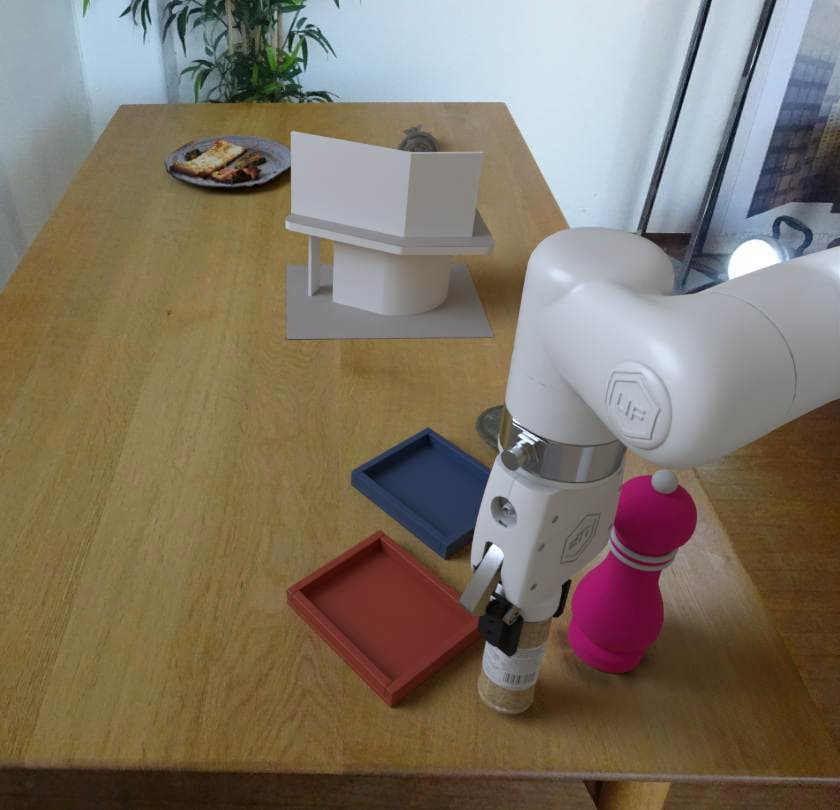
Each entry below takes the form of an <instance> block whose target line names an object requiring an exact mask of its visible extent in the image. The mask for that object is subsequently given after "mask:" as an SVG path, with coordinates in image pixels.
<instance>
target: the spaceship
mask: <svg viewBox="0 0 840 810" xmlns="http://www.w3.org/2000/svg"><path fill="white" fill-rule="evenodd" d="M421 128H422V123H421V124H417V125H416V126H411V127H410V128H408V129H405V130H403V131H402V133H403V134H404V135H406V136H404V137H403V138H402V140H401V141H400V143H398V147H397V150H402V151H408V152H441V149H440V144H439V142H438V141H437V140H438V139H436V137H434V135H433V133H432V131H428V132H426V131H421Z"/></svg>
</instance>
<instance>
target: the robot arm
mask: <svg viewBox="0 0 840 810" xmlns="http://www.w3.org/2000/svg"><path fill="white" fill-rule="evenodd" d="M523 283H524V284H523V288H522V294H521V301H520V306H519V312H518V313H519V314H518V319H517V325H516V331H515V339H514V343H513V348H512V354H511V359H510V367H509V373H508V379H507V383H506V384H507V385H506V390H505V396H504V399H503V405H504V406H503V412H502V418H501V424H500V430H499V436H498V448H499V450H498V452H499V453H498V454H497V455H496V457H495V459H494V462H493V466H492V468H491V470H492V471H491V473H490V476H489V479H488V482H487V485H486V489H485V492H484V495H483V499H482V502H481V506H480V510H479V514H478V518H477V522H476V527H475V532H474V537H473V541H472V542H471V551H470V569H471V571H472V574H473V576H472V577H471V578H470V581H469V582H468V584H467V586H466V587H465V589H464V591H463V593H462V594H461V595H460V596H461V598H460V599H459V602H458V604H459V605H460V606H461V607H462V608H463V609H465V610H466V611H467V612H468V613H470V614H471V615H472V616H479V621H478V626H477V629H478V632H479V633H480V634H481V635H482V636H481V637H482V638H483V639H484V641H485V642H486V641H487V642H488V643H489V644H490V645H492V646H494V647H497V648H498V649H499V650H501V651H502V652H503V653H504V654H505V655H507V656H508V657H511V656H513V655H514V654H515V653H516V651H517V647H518V643H519V638H520V634H521V630H522V625H523V621H524V619H523V617H522V616H521V615H520V611H521V609H522V608H528V607H531V606H534V605H536V604H537V603H539V602H540V601H542V600H543V599H544V598H546V597H547V596H548V595H550V594H551V593H552V592H554V591H555V590H556V589H557V588H559V587H560V586H561V585H562V592H561V597H560V602H559V606H558V609H557V611H556V612H555V614H554V615H553V618H556V619H558V618H559V617H561V616H562V615H563V614H564V611H565V607H566V603H567V601H568V597H569V592H570V589H571V585H572V579H571V578H573V577H574V576H575V575H576V574H577V573H579V572H580V571H581V570H582V569H583V568H585V567H586V566H587V565H588V564H589V563H591V562H593V560H594V559H595V558H597V557H598V556H599V555H600V554H601V553H602V552H603V550H604V549H605V548H606V547H607V546H608V541H609V538H610V535H611V531H612V527H613V524H614V520H615V516H616V511H617V507H618V503H619V498H620V493H621V488H622V485H623V484H624V483H623V482H624V478H625V477H624V476H625V471H626V470H625V469H626V461H627V460H626V459H627V452H628V450H629V451H631V452H632V453H633V454H635V455H636V456H638V457H639V458H641V459H642V460H644V461H645V462H647V463H650V464H651V465H653V466H657V467H659V468H662V469H666V470H674V471H675V470H677V471H684V470H685V471H686V470H690V469H696V468H701V467H704V466H707V465H709V464H712V463H714V462H716V461H718V460H720V459H723V458H724V457H726V456H729V455H730V454H732V453H734V452H736V451H737V450H740V449H741V448H744V447H745V446H747V445H749V444H751V443H753V442H755V441H757V440H759V439H761V438H762V437H765V436H767V435H768V434H769V433H771V432H772V431H775V430H776V429H778V428H780V427H782V426H785V425H786V424H788V423H790V422H792V421H794V420H796V419H798V418H800V417H802V416H803V415H806V414H807V413H810V412H812V411H814V410H816V409H819V408H820V407H822V406H824V405H826V404H829V403H831V402H833V401H837V400H839V399H840V245H837V246H834V247H830V248H827V249H823V250H819V251H816V252H812V253H808V254H805V255H801V256H797V257H794V258H791V259H786V260H783V261H780V262H777V263H774V264H771V265H768V266H765V267H762V268H759V269H757V270H754V271H751V272H749V273H745V274H742V275H738V276H736V277H733V278H730V279H729V280H726V281H723V282H721V283H719V284H716V285H713V286H711V287H708V288H706V289H704V290H701V291H698V292H695V293H688V294H677V295H673V291H674V287H675V271H674V265H673V263H672V261H671V259H670V257H669V255H668V254H667V252H665V251H664V250H663V249H662V248H661V247H660V246H659V245H657V244H656V243H655V242H653V241H651V240H650V239H648V238H646V237H643V236H641V235H639V234H636V233H633V232H631V231H630V232H629V231H626V230H623V229H622V230H621V229H616V228H611V227H604V226H603V227H602V226H579V227H577V226H576V227H570V228H566V229H562V230H559V231H557V232H554V233H552V234H550V235H548V236H546V237H545V238H544V239H543V240H541V241H540V242H539V243H538V244H537V245H536V247H535V248H534V250H533V251H532V253H531V254H530V257H529V259H528V262H527V267H526V271H525V275H524V281H523ZM498 584H500V585H501V586H503V588H504V592H505V595H506V598H507V600H508V601H507V600H506V599H505V598H503V597H502V596H501V595H500V594H498V593H496V589H497V586H498Z"/></svg>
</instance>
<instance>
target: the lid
mask: <svg viewBox="0 0 840 810" xmlns="http://www.w3.org/2000/svg"><path fill="white" fill-rule="evenodd" d="M503 406H504V404H498V405H495V406H492V407H491V406H490V407H489V408H486V409H485V410H484V411H482V412H481V413H480V414H479V415H478V416H477V418H476V421H475V428H476V432H477V434H478V436H479V437H480V438H481V439H482V440H483V442H485V443H486V444H487V445H489V446H491V447H492V448H494V449H496V450H498V451H499V448H498V436H499V430H500V424H501V418H502V412H503Z"/></svg>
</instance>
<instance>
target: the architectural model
mask: <svg viewBox="0 0 840 810" xmlns="http://www.w3.org/2000/svg"><path fill="white" fill-rule="evenodd" d="M290 150H291V165H290V210H291V212H290V213H289V214H288V215H287V216H286V217H285V218H284V219H285V228H286V230H288V231H291V232H295V233H301V234H305V235H308V256H307V257H308V262H307V263H308V264H307V263H306V264H305V263H304V264H303V263H302V264H301V263H299V264H296V263H295V264H291V263H290V264H285V268H286V269H285V271H286V272H285V278H286V279H285V283H286V285H285V288H286V291H285V292H286V296H285V297H286V300H285V302H286V303H285V304H286V305H285V306H286V309H285V310H286V311H285V312H286V315H285V316H286V319H285V321H286V340H337V339H338V340H342V339H343V340H347V339H449V338H450V339H451V338H453V339H454V338H455V339H456V338H458V339H460V338H462V339H463V338H464V339H466V338H469V339H470V338H495V335H494V332H493V330H492V327H491V325H490V322H489V320H488V317H487V314H486V311H485V309H484V306H483V304H482V301H481V298H480V296H479V292H478V290H477V288H476V285H475V282H474V280H473V277H472V274H471V271H470V269H469V266H468V264H467V263H466V262H453V256H472V255H473V256H475V255H480V256H481V255H482V256H483V255H491V254H493V253H494V250H495V245H496V241H495V238H494V237H493V235H492V233H491V231H490V230H489V227H488V225H487V224H486V222H485V220H484V219H483V217H482V214H481V213H480V212H479V209H478V208H477V204H478V203H477V202H478V196H479V189H480V182H481V175H482V167H483V161H484V155H485V152H484V151H440V152H430V151H426V152H409V150H408V151H402V150H398V149H396V148H391V147H390V148H389V147H385V146H379V145H375V144H368V143H363V142H359V141H358V142H357V141H351V140H345V139H342V138H341V139H340V138H335V137H329V136H323V135H319V134H318V135H317V134H311V133H307V132H306V133H305V132H300V131H295V130H292V131H291V132H290ZM322 238H323V239H327V240H331V241H333V263H321V248H322V247H321V245H322V244H321V243H322Z"/></svg>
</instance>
